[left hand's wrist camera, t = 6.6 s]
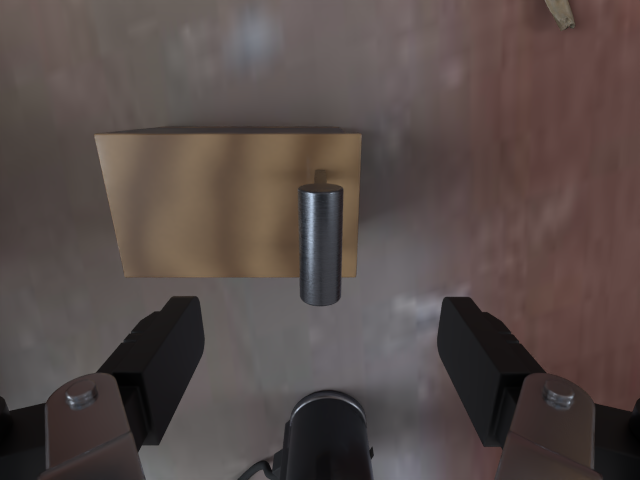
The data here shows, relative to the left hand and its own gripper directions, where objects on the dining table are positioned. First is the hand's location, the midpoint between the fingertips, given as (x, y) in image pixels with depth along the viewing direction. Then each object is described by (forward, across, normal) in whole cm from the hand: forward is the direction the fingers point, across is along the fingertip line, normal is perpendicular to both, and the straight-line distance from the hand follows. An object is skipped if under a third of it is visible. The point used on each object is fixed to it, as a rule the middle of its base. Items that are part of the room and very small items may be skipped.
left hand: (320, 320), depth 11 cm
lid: (+14, +6, 0) cm, 15 cm away
